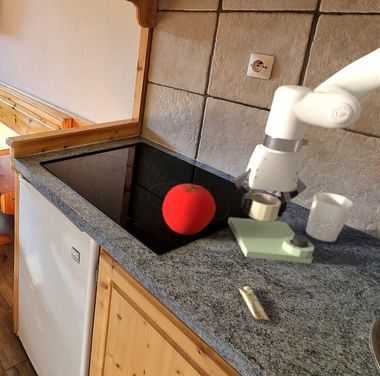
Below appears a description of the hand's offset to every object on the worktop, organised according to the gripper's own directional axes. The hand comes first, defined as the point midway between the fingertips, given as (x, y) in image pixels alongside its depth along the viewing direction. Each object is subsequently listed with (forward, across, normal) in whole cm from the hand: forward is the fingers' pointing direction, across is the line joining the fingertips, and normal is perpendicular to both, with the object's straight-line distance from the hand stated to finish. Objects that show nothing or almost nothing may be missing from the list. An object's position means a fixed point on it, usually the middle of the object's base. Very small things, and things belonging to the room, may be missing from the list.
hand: (261, 212), depth 98 cm
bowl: (+1, 0, 0) cm, 1 cm away
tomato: (+7, +17, 0) cm, 18 cm away
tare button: (+4, -7, +7) cm, 11 cm away
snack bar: (+7, +8, +27) cm, 29 cm away
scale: (+7, -2, +2) cm, 7 cm away
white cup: (+7, -17, -4) cm, 19 cm away
